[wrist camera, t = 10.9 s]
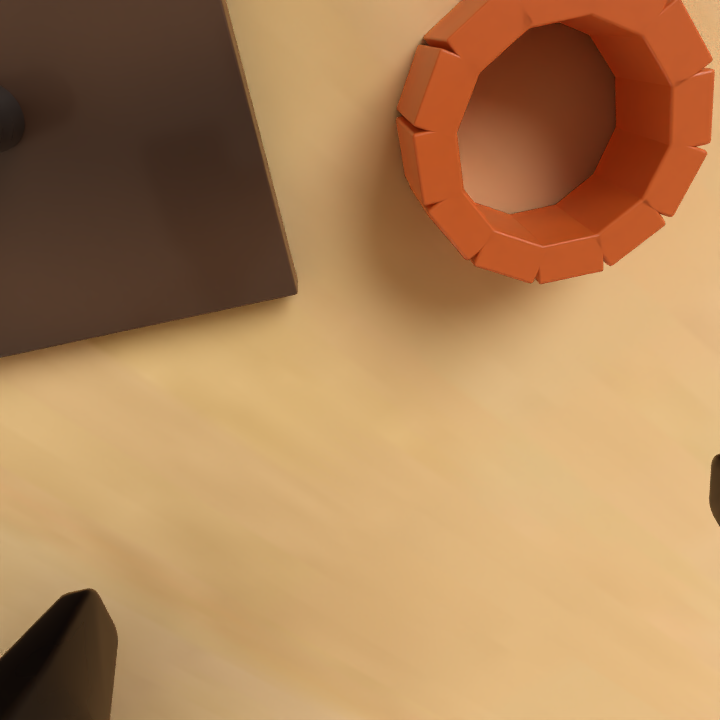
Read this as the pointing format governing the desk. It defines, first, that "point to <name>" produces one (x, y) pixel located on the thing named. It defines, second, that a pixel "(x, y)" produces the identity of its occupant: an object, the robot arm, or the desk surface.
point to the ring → (620, 158)
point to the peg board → (128, 171)
